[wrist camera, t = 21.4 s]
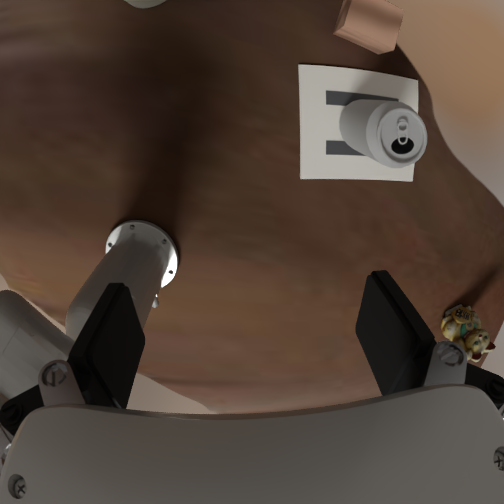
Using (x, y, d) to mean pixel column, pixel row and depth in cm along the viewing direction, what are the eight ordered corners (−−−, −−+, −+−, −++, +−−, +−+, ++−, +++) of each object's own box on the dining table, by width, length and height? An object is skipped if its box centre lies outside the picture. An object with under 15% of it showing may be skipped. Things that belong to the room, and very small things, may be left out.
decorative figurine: (469, 295, 51) (502, 338, 38) (467, 318, 55) (495, 360, 41) (436, 313, 53) (467, 362, 40) (436, 335, 56) (462, 381, 43)
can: (342, 154, 37) (377, 177, 26) (332, 102, 33) (366, 104, 23) (389, 147, 36) (435, 168, 25) (381, 97, 32) (428, 100, 22)
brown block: (378, 54, 30) (393, 50, 25) (332, 34, 29) (343, 25, 24) (388, 18, 26) (404, 10, 22) (344, -3, 25) (356, -14, 21)
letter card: (411, 180, 39) (412, 181, 38) (300, 178, 39) (300, 178, 38) (416, 80, 31) (418, 80, 30) (298, 64, 31) (298, 64, 31)
